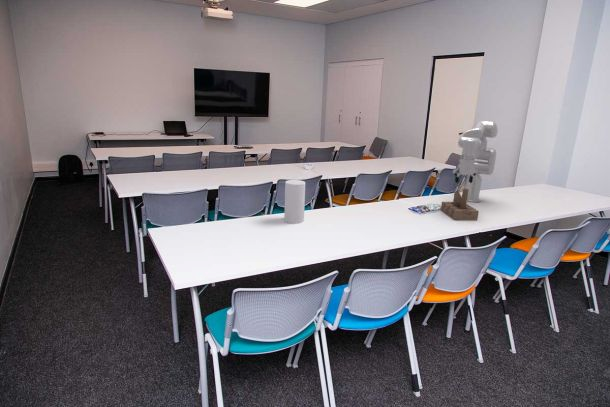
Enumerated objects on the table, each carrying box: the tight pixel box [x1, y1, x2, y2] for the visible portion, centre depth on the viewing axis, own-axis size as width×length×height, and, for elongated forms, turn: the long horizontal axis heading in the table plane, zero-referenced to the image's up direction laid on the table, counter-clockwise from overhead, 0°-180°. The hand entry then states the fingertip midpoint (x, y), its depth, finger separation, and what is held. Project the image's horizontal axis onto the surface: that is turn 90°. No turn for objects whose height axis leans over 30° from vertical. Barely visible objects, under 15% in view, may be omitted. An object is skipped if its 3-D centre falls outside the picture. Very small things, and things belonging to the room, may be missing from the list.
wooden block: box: [452, 188, 469, 209], centre depth 276 cm, size 4×11×18 cm, turn 18°
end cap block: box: [440, 201, 480, 221], centre depth 278 cm, size 22×16×6 cm
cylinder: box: [283, 179, 306, 225], centre depth 251 cm, size 12×12×25 cm
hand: (463, 182), depth 272 cm, fingers open, 9 cm apart
